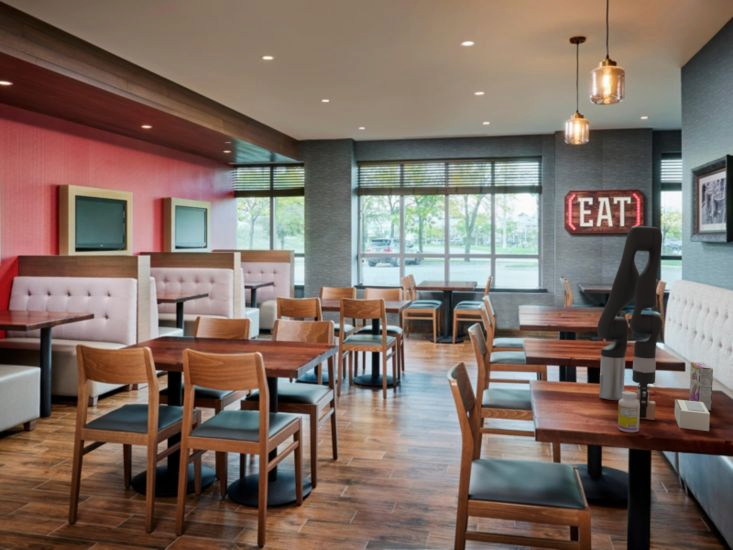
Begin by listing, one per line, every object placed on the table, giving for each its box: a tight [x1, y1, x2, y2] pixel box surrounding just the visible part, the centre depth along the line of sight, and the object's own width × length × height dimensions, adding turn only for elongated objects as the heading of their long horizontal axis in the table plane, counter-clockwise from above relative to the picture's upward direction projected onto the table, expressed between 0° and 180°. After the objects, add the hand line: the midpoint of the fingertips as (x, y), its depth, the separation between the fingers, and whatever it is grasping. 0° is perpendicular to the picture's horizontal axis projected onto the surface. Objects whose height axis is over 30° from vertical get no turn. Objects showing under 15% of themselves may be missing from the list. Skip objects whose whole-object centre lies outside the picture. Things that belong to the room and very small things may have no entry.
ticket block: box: [674, 399, 711, 432], centre depth 215 cm, size 9×16×6 cm, turn 159°
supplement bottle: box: [617, 390, 640, 433], centre depth 206 cm, size 7×7×13 cm
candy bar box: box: [688, 361, 714, 411], centre depth 237 cm, size 11×5×16 cm, turn 168°
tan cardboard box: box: [636, 398, 656, 421], centre depth 221 cm, size 8×4×6 cm, turn 68°
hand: (642, 415), depth 221 cm, fingers open, 5 cm apart
